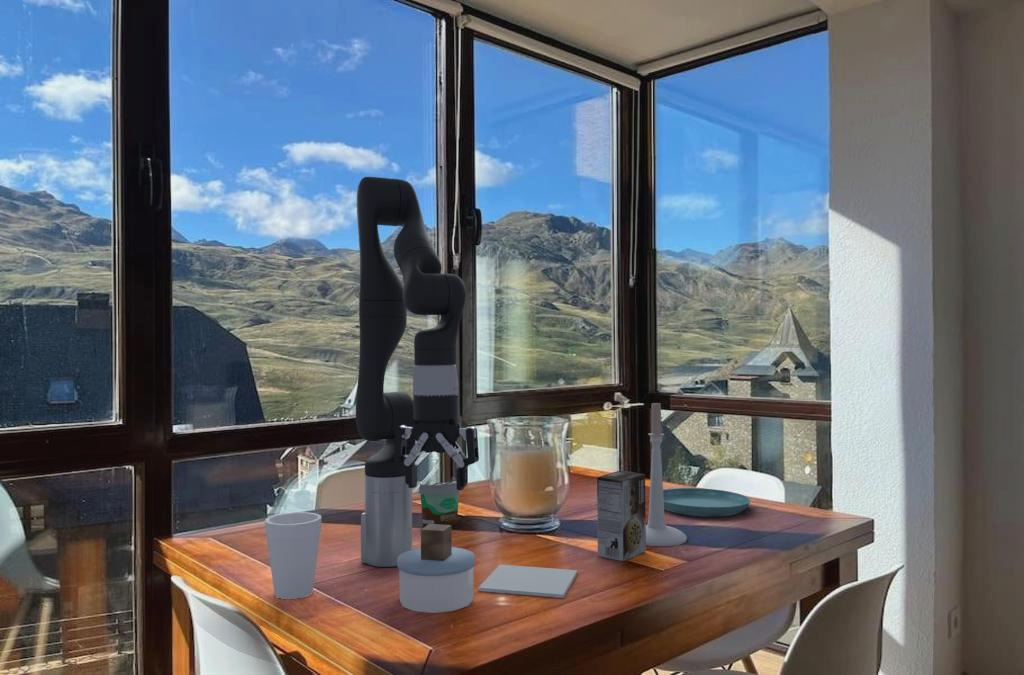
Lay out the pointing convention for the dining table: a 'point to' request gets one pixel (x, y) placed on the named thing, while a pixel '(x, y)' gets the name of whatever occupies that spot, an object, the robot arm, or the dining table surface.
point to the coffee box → (621, 515)
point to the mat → (529, 581)
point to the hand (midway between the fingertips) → (436, 488)
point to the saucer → (704, 502)
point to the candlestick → (659, 493)
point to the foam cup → (293, 552)
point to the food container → (439, 503)
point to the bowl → (436, 592)
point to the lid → (436, 554)
